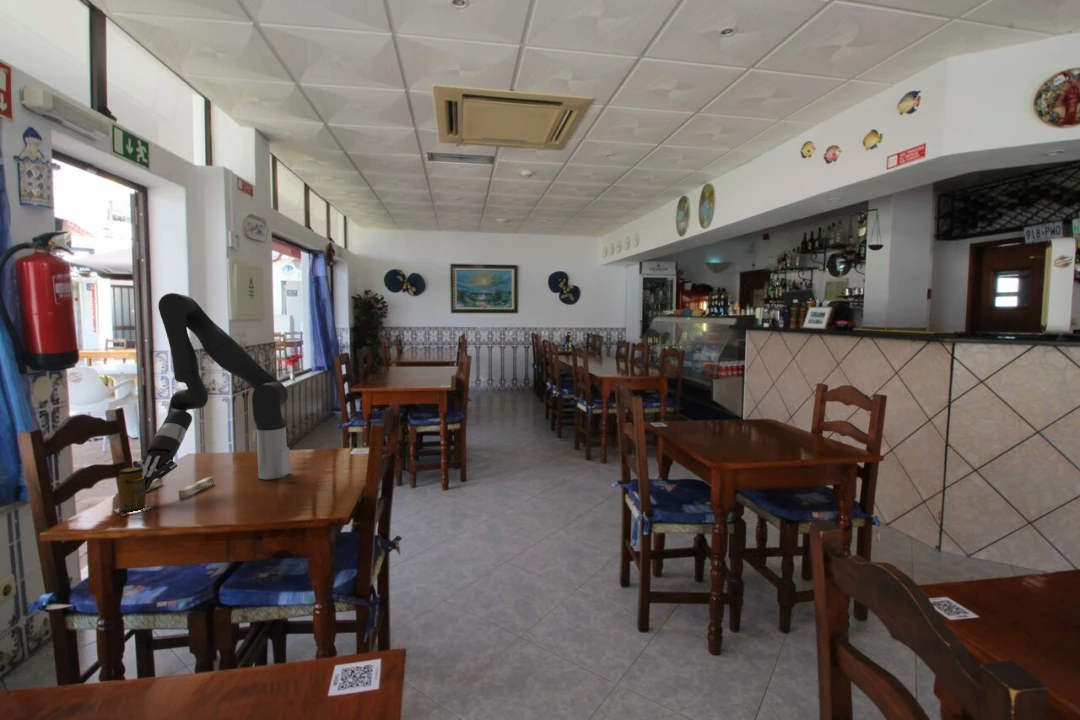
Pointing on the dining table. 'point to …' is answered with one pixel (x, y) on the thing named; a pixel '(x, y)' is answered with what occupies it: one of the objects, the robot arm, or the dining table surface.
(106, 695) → the dining table surface
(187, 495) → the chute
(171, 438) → the robot arm
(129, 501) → the condiment
